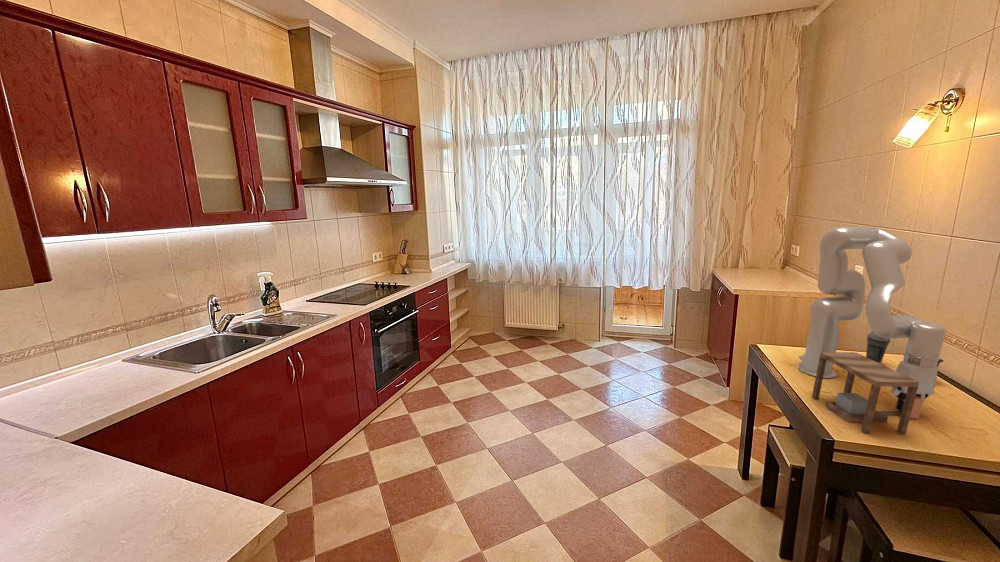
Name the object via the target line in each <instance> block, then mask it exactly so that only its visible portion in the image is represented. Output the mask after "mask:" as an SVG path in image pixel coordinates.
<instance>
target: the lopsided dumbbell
mask: <svg viewBox="0 0 1000 562" xmlns="http://www.w3.org/2000/svg"><path fill="white" fill-rule="evenodd" d="M903 395H904V396H905V394H904V393H903ZM835 399H836V400H835V402H836V403H835V406H836V407H837V408H839V409H840V410H842V411H843V412H845V413H847V414H848V415H865V412H866V407H867V403H868V399H866V398H865V397H863V396H862V395H860V394H858V393H857V392H851V393H844V392H837V395H836V398H835ZM923 400H924V401H925V399H922V398H920V397H918V396H915V400H914V404H913V408H912V412H911V415H910V419H919V418H920V415H921V414H920V413H921V410H922V406H923V403H924V402H923ZM897 403H898V398H897V400H896V404H895V407H894V410H891V411H890V410H887V411H885V410H875V413H874V415H886V414H888V415H892V414H893V415H898V414H899V415H901V413H902V412H901V411H899V410H898V409H896V407H897Z"/></svg>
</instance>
